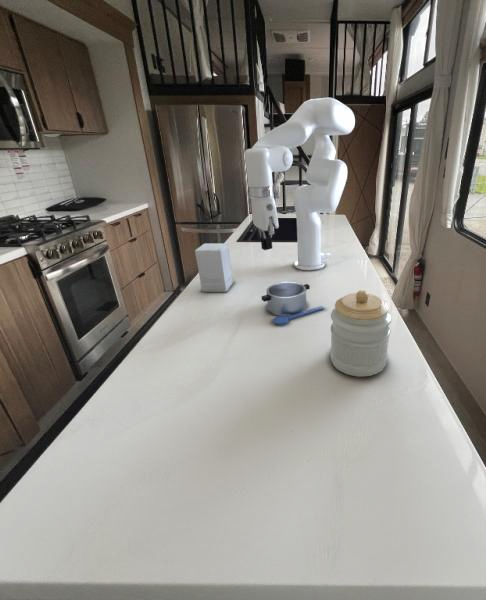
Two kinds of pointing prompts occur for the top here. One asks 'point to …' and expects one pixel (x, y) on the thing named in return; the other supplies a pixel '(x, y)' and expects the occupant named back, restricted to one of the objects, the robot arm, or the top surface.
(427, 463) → the top surface
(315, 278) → the top surface
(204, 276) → the white product box
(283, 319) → the spoon
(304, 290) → the pot
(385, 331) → the jar
